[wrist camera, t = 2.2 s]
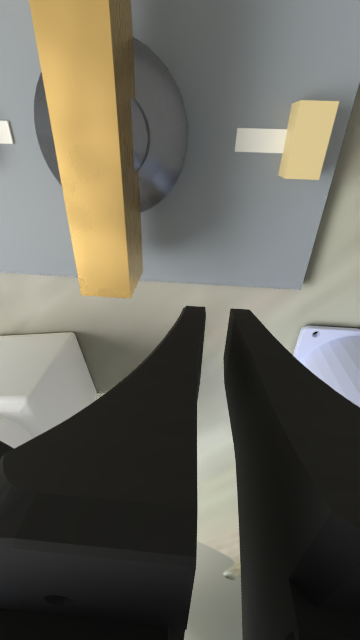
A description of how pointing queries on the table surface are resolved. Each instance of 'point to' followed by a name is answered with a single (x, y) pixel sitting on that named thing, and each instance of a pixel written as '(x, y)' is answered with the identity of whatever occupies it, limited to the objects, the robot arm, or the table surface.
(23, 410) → the medicine bottle
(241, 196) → the base
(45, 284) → the table surface
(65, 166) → the long golden bar
